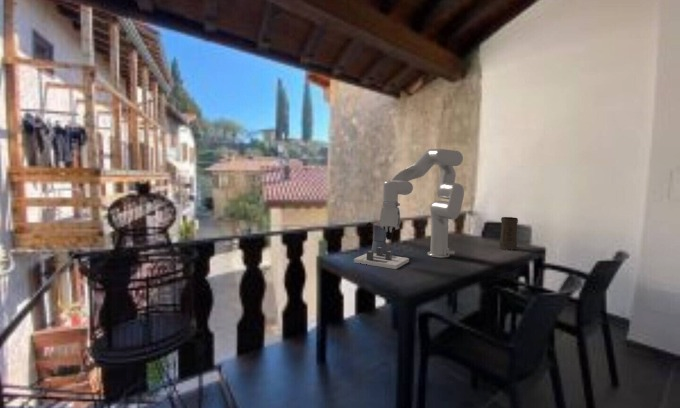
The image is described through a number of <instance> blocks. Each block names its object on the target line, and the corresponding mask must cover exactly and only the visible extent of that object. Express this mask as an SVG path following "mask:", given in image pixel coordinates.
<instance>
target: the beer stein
mask: <svg viewBox="0 0 680 408" xmlns="http://www.w3.org/2000/svg"><path fill="white" fill-rule="evenodd" d="M500 221H501V230H500V238H499V242H498V243H499V245H498V248H499V247H500V248H503V249H502V250H504V249H516V248H517V249H518V247H517V245H518V243H517V240H518V237H517V235H518V232H517V231H518V223H519V219H518V217H512V216H502V217H501V218H500ZM500 248H499V249H500ZM517 249H516V250H517Z"/></svg>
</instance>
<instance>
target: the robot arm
mask: <svg viewBox="0 0 680 408" xmlns="http://www.w3.org/2000/svg"><path fill="white" fill-rule="evenodd" d="M463 160H464V156H463V154H462V153H461V152H460V151H458V150H453V149H452V150H451V149H445V148H429V149H427V150H425V151H423V153H422V154H421V155H420V156H419V157H418V158H417V159H416V160H415V162H413V164H411V165H410V166H408V167H406V168H404V169H402V170H401V171H399V172H398V173H396V174H395V175H394V176H393V178H391V180H385V181H384V182H383V190H382V192H383V194H382V195H383V196H382V207H381V210H380V215H379V216H380V217H379V223H380V227H381V228H384V229H385V231H386V241H387V240H388V241H390V240H392V239H393V237H394V235H393V233H394V232H395V231H396V230H399V229H400V226H401V213H400V207H401V203H399V197H398V196H399V195H402V196H407V195H410V194H411V193H412V192H413V189H414V186H413V184H412V182H410V181H412V180H415V179H420V178H422V177H424V176H426V174H427V173H428V172H429V171H430V170H431V169H432V167H433V166H434V165H437V166H438V168H439V171H440V174H439V175H440V176H439V181H438V184H437V190H436V195H437V197H438V198H439V199H442V200H435V201H433V202H432V203H431V205H430V208H429V211H430V216H431V217H430V219H431V223H430V224H431V229H430V250H429V251H427V253H426V254H427V256H429V257H433V258H438V259H439V258H440V259H441V258H442V259H443V258H449V257H450V255H453V256H454V255H455V254H456V253H455V250H452V249H450V248H449V247H448V239H449V222H448V220H456V219H458V218H459V215H460V213H461V210H462V206H463V202H464V201H463V200H464V197H465V190H464V187H463V185H462V184H460V183H457V182H455V181H456V174H457V173H456V170H455V167H458V166H460V165H462V163H463ZM443 199H444V200H445V201H444V200H443ZM447 200H448V201H447ZM399 206H400V207H399ZM389 227H390V228H389Z"/></svg>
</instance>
